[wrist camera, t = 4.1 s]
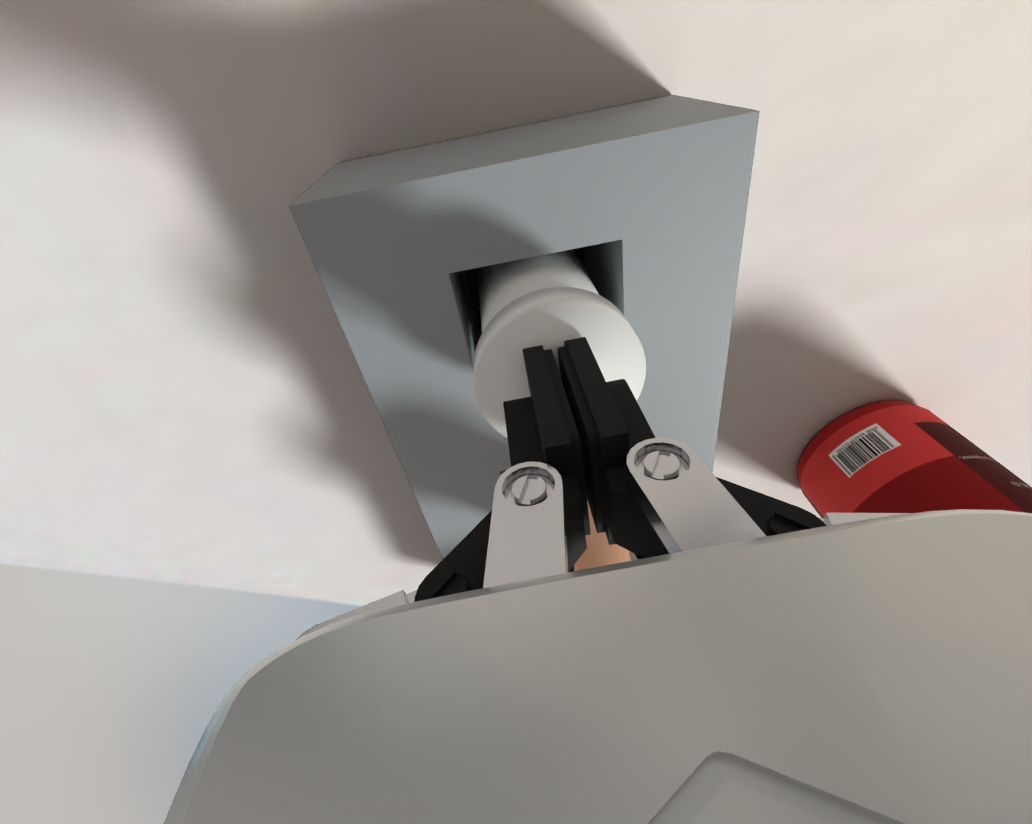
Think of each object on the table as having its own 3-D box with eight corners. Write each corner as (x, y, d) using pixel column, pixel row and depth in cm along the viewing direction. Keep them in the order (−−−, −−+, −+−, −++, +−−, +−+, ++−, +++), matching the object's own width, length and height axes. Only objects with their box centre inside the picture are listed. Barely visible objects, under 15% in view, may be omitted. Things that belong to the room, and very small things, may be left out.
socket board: (337, 162, 17) (288, 206, 12) (672, 94, 16) (759, 110, 12) (485, 577, 33) (489, 667, 28) (657, 546, 32) (691, 631, 27)
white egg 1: (457, 226, 18) (456, 323, 11) (579, 202, 18) (646, 286, 11) (482, 335, 20) (492, 461, 14) (587, 314, 20) (645, 432, 14)
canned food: (774, 499, 30) (900, 678, 22) (822, 398, 26) (1010, 576, 17) (885, 491, 31) (1052, 662, 22) (953, 391, 26) (1200, 559, 17)
